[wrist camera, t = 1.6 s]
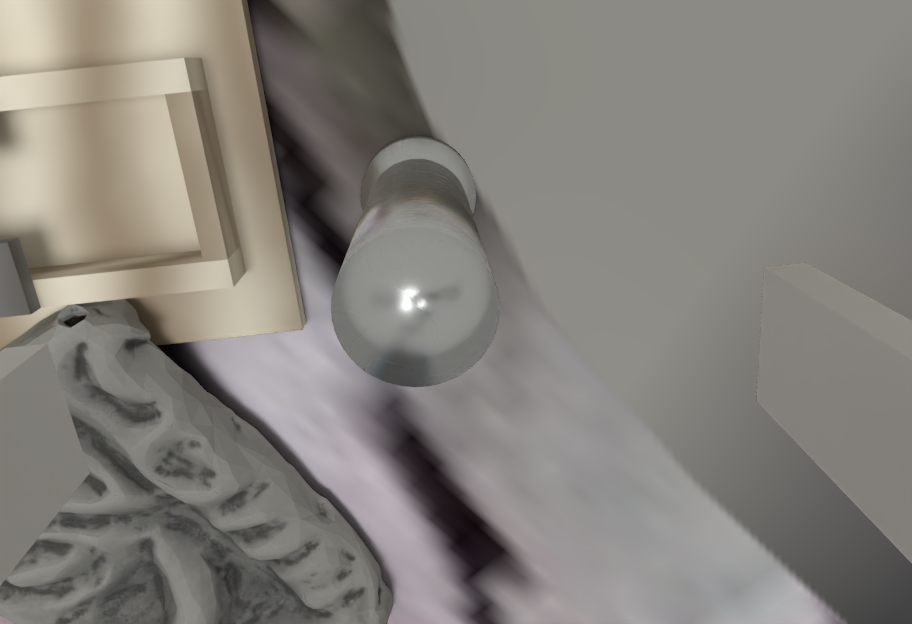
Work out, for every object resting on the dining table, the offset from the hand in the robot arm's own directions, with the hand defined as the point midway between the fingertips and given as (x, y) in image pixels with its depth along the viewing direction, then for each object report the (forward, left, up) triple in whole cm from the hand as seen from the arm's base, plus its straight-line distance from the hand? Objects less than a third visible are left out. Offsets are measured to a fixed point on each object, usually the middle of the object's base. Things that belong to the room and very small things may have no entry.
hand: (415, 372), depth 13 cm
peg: (0, 0, -19) cm, 19 cm away
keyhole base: (+2, +19, -19) cm, 27 cm away
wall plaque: (-17, +17, -19) cm, 30 cm away
